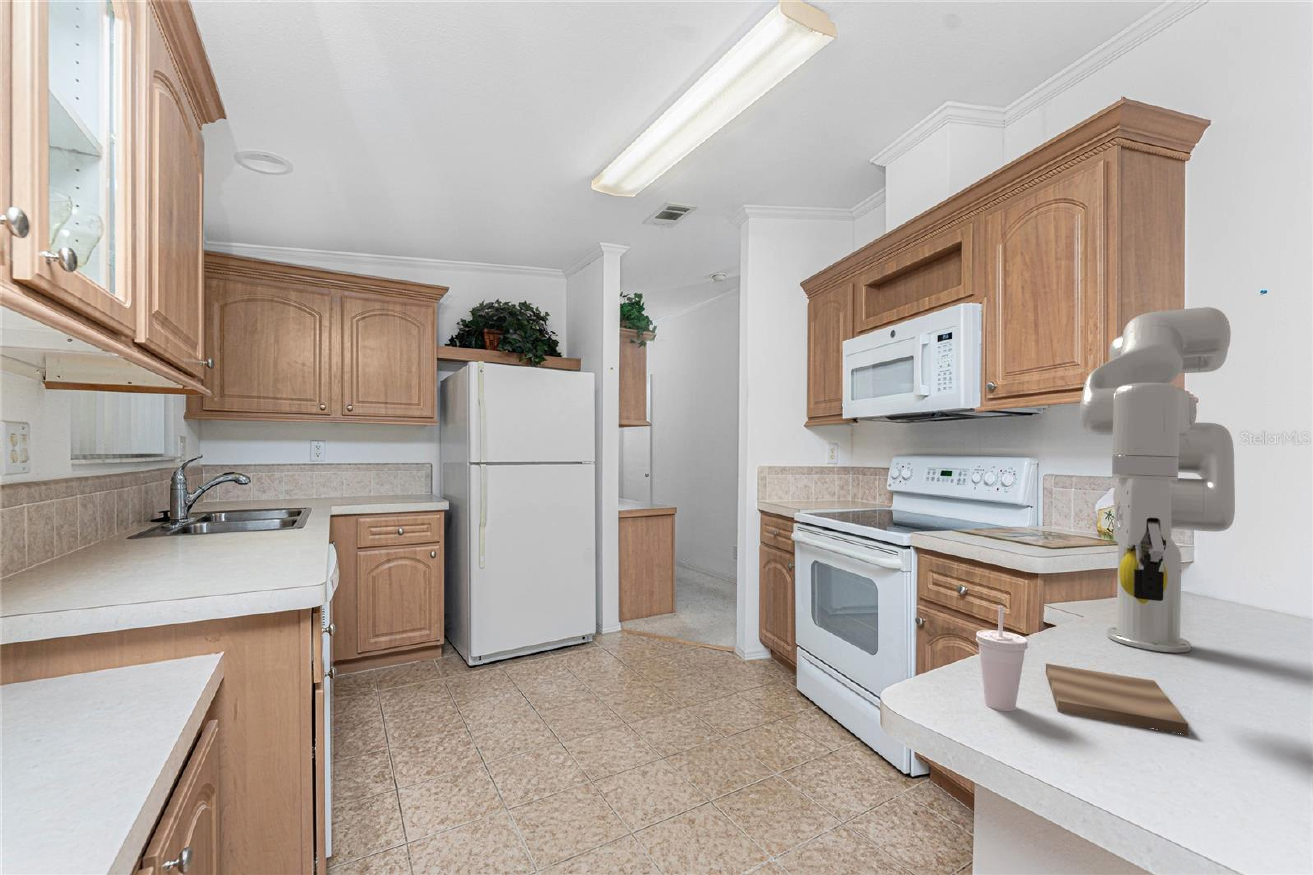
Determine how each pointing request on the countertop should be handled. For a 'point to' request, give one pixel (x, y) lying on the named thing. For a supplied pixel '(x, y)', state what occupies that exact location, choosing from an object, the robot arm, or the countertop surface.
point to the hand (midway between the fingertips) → (1142, 593)
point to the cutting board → (1113, 698)
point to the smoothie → (1001, 665)
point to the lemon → (1128, 574)
